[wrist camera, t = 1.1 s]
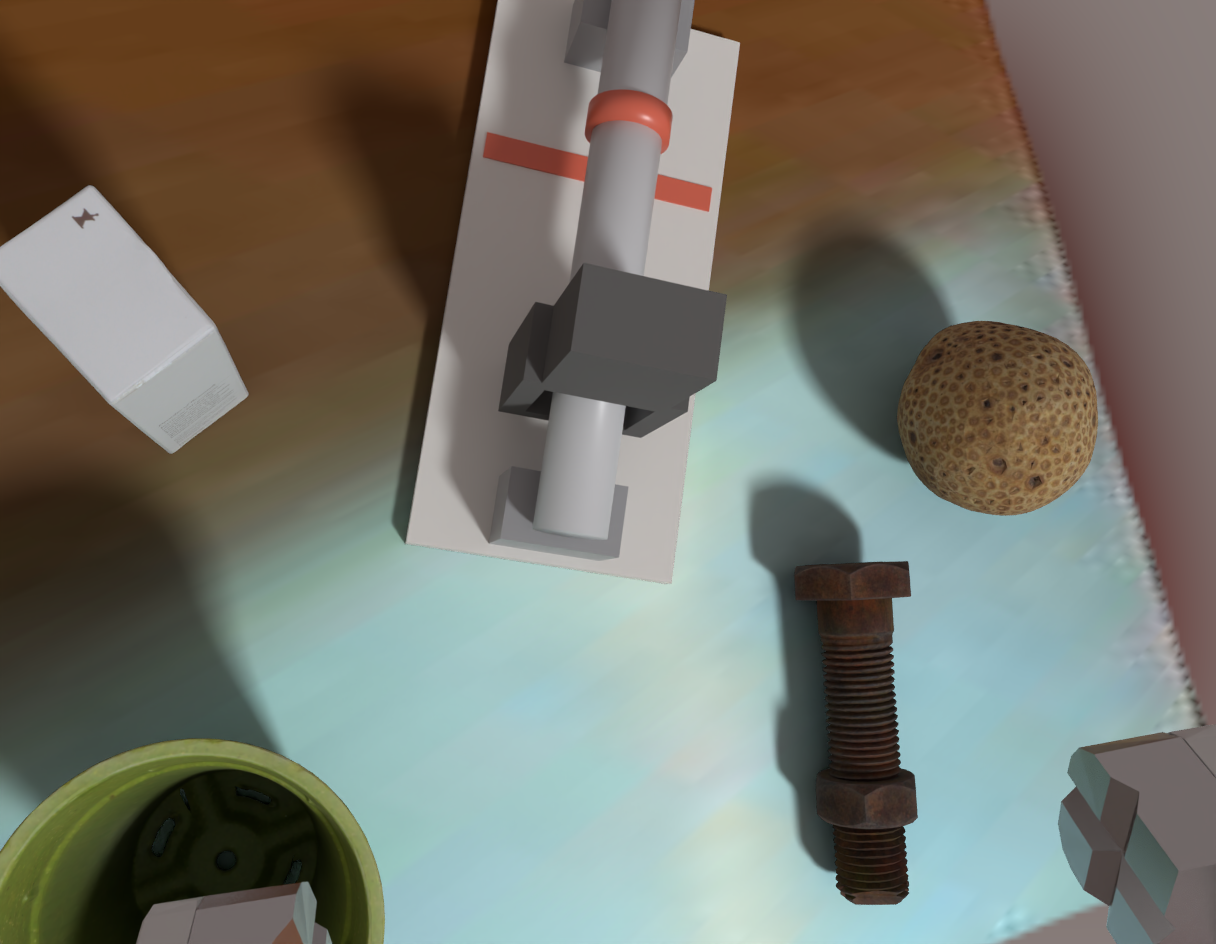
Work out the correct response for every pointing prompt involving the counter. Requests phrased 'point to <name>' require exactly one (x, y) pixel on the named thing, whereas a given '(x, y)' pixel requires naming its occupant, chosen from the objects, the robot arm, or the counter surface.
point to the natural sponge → (998, 417)
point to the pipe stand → (547, 262)
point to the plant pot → (182, 845)
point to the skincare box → (121, 319)
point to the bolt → (862, 727)
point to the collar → (616, 348)
